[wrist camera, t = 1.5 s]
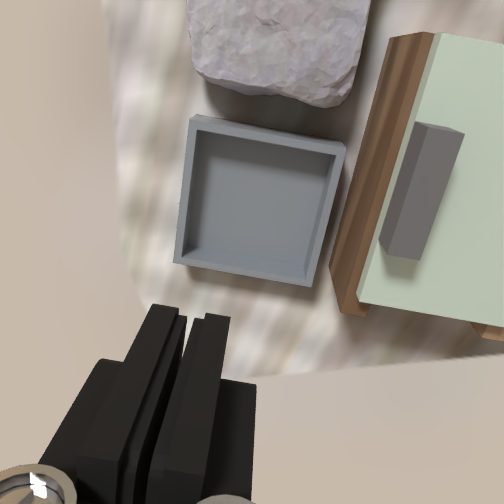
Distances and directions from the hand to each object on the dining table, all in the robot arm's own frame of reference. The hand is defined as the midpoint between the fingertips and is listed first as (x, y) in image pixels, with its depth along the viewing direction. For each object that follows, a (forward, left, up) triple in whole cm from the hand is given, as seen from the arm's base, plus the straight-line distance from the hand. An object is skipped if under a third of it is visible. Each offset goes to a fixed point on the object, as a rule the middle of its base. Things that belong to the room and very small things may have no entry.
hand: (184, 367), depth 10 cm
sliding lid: (-12, -2, -15) cm, 19 cm away
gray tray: (-1, +2, -22) cm, 22 cm away
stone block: (0, -10, -22) cm, 24 cm away
